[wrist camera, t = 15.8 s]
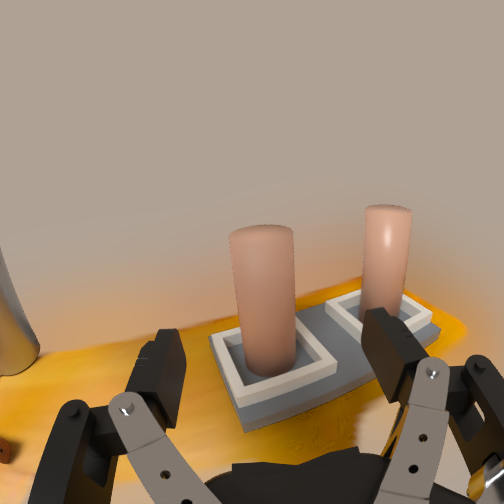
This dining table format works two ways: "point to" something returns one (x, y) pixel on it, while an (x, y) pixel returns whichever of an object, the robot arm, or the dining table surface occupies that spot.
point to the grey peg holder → (330, 333)
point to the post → (265, 297)
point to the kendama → (4, 451)
